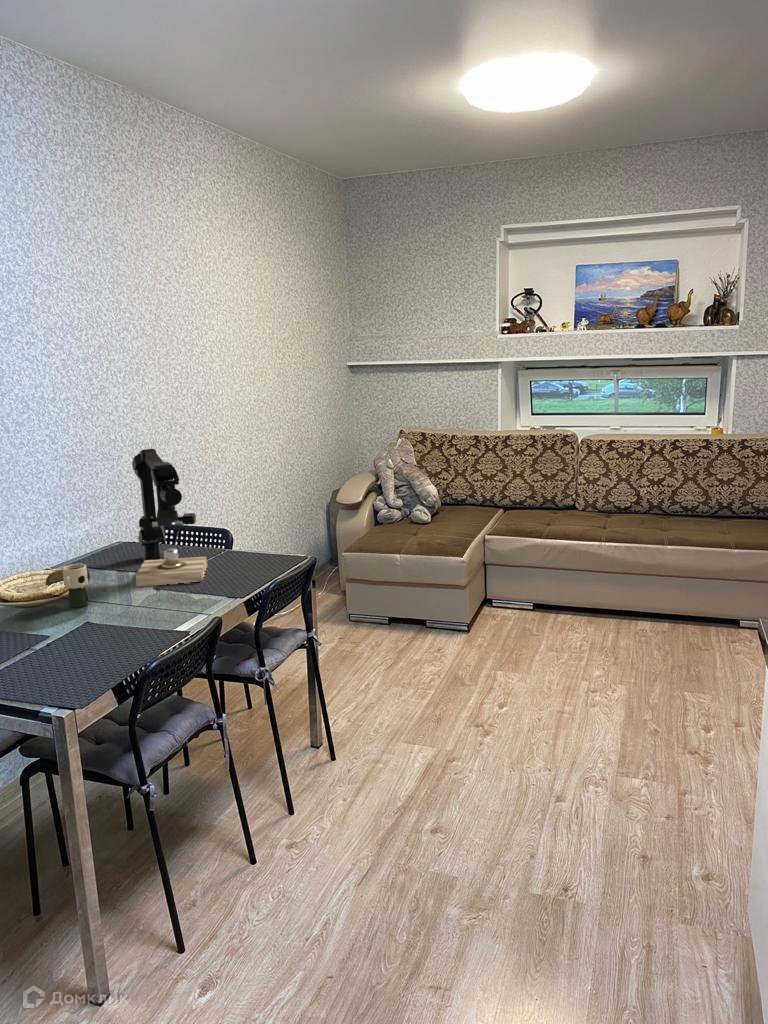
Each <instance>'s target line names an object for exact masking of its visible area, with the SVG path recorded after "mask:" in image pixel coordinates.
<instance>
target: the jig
mask: <svg viewBox="0 0 768 1024" xmlns="http://www.w3.org/2000/svg"><path fill="white" fill-rule="evenodd" d="M178 559H179V561H181V562H182V566H180V567H178V568H173V569H165V568H162V563H164V562H165V561H164V559H162V558H161V559H160V560H145V561H143V562H142V564H141V565H140V568H139V569H138V571H137V572H136V573H135V585H136V587H151V586H165V585H166V586H167V584H169V585H179V584H178V583H184V584H191V583H190V582H198V581H202V580H203V581H204V578H205V575H206V572H205V571H207V569H208V561H207V560H208V559H207V556H199V557H198V556H196V557H178ZM206 568H207V569H206ZM204 574H205V575H204ZM203 577H204V578H203ZM203 581H202V582H203Z"/></svg>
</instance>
